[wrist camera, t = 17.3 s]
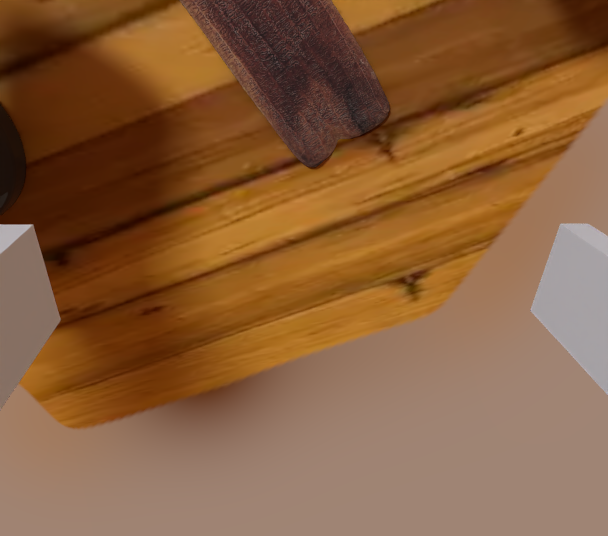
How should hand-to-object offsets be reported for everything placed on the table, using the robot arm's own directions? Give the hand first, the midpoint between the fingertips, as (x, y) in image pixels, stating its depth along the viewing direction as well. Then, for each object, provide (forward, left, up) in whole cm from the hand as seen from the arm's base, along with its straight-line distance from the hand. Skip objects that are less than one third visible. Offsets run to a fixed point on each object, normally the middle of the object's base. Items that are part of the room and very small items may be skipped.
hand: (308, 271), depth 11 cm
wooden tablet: (-1, +6, -32) cm, 33 cm away
